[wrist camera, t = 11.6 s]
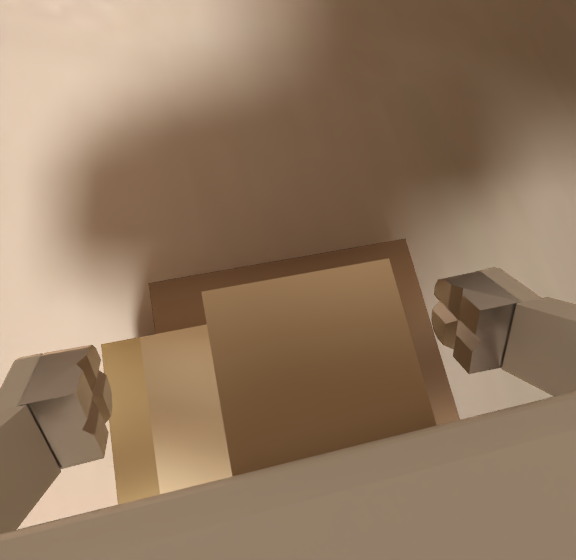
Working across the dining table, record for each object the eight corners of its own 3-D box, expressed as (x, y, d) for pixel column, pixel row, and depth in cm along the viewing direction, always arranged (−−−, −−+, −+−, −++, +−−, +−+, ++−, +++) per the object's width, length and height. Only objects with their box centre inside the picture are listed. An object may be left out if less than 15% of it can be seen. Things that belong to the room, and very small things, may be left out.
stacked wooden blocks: (120, 352, 16) (-72, 270, 6) (356, 307, 18) (507, 181, 8) (141, 528, 15) (-70, 795, 5) (396, 462, 16) (649, 559, 6)
